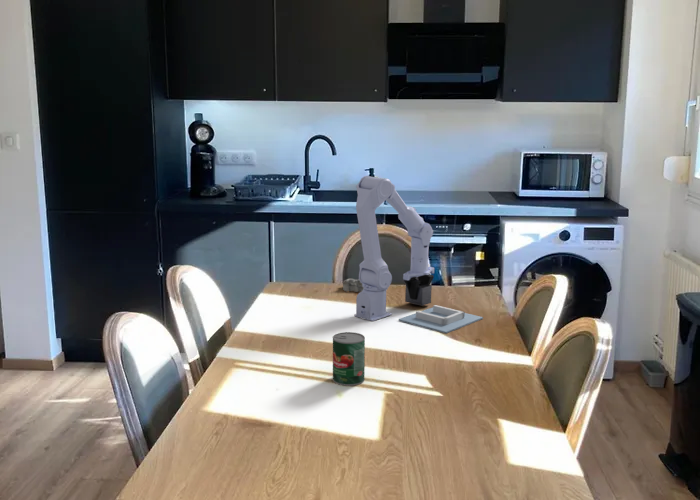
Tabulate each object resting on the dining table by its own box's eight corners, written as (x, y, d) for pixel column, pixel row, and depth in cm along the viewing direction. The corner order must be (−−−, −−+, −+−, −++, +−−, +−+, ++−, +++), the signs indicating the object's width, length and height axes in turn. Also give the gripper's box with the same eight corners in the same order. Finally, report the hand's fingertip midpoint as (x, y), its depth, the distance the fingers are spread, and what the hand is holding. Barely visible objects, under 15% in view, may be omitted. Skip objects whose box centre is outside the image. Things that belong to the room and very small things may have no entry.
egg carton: (341, 292, 259) (341, 280, 258) (345, 286, 266) (345, 275, 265) (370, 293, 257) (370, 282, 256) (374, 288, 264) (374, 277, 263)
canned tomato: (368, 375, 181) (368, 333, 178) (359, 387, 173) (360, 343, 171) (337, 372, 183) (337, 330, 180) (328, 383, 175) (328, 340, 173)
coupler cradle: (446, 333, 213) (446, 325, 213) (398, 320, 225) (398, 312, 224) (482, 318, 228) (483, 311, 227) (436, 307, 239) (436, 300, 239)
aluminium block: (422, 305, 238) (422, 288, 236) (405, 301, 242) (405, 284, 241) (431, 302, 241) (431, 285, 240) (414, 298, 246) (414, 281, 245)
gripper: (415, 263, 231) (414, 304, 234) (442, 256, 241) (440, 295, 244) (398, 259, 235) (397, 299, 238) (425, 253, 246) (423, 291, 249)
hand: (418, 297), depth 241 cm, fingers closed on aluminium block, 5 cm apart
